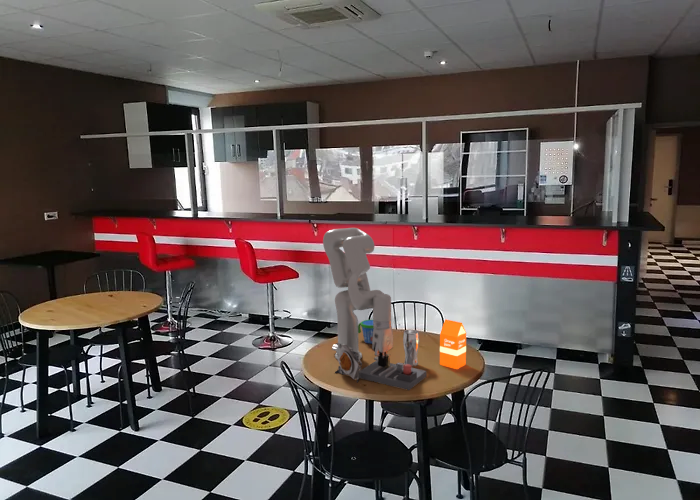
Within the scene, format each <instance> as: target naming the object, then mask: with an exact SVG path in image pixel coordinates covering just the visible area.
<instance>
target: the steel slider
mask: <svg viewBox="0 0 700 500" xmlns="http://www.w3.org/2000/svg"><path fill="white" fill-rule="evenodd" d="M395 364H396V365H397V371H399V372H401V371H403V365H405V364H404V363H403V362H398V361H397V362H396V363H395Z"/></svg>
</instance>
